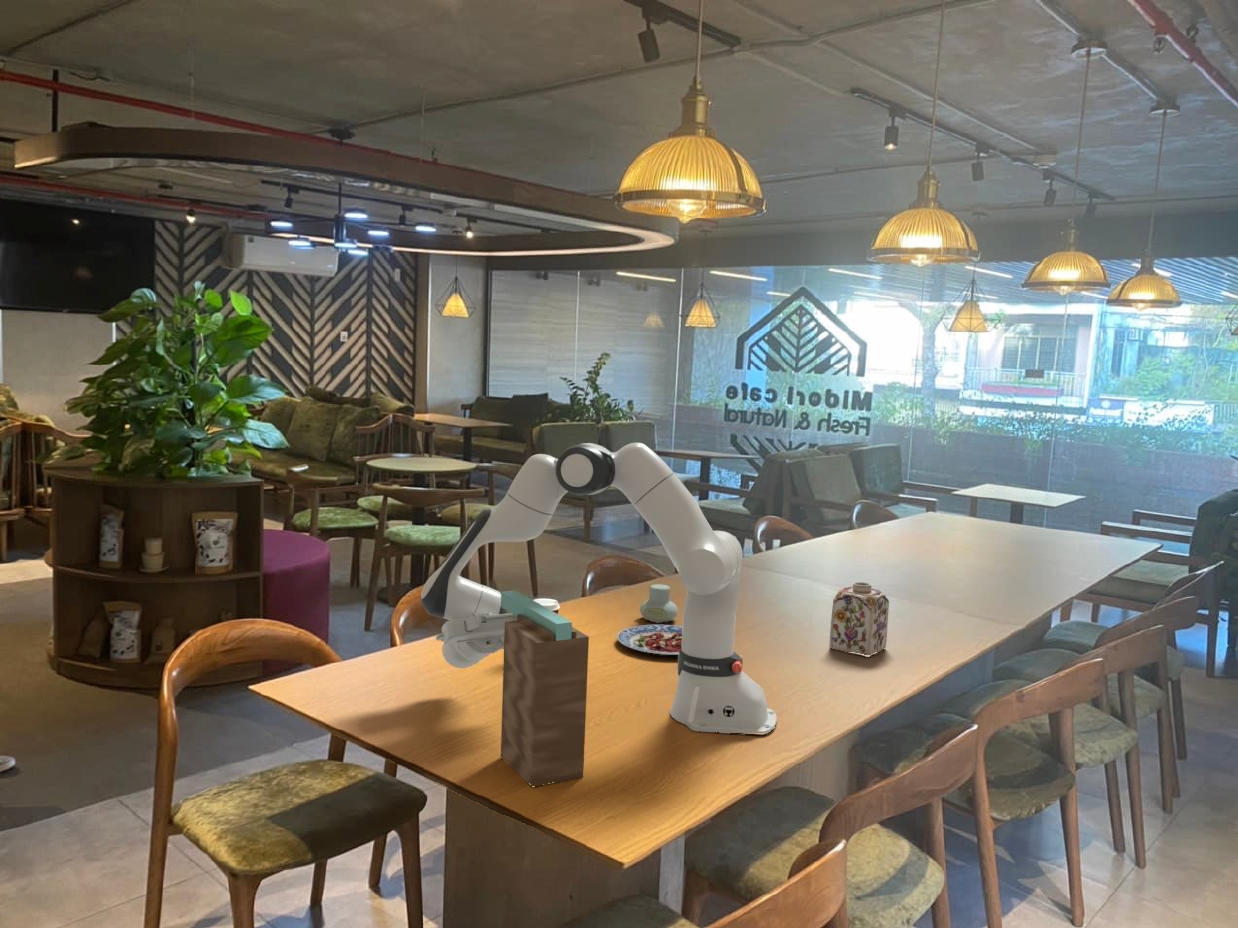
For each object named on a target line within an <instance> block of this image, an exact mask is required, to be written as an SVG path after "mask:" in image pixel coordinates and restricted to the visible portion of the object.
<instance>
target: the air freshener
mask: <svg viewBox="0 0 1238 928" xmlns="http://www.w3.org/2000/svg"><path fill="white" fill-rule="evenodd" d="M639 612H640V615H641V616H642V617H643V618H644V619H645V620H647V621H648V620H649V621H648V622H651V621H652V622H651V623H653V622H658V623H657V624H664V623H663V622H665V623H668V622H671V621H672V620H673V621H674V619H675V618H676V617H677V615H678V613H679V610H678V607H677V605H676V604H675V603H674V602H673V601H671V587H670V586H669V585H666V584H656V583H655V584H652V585H650V587H649V595H648V599H646V600H645V601H643V602H642V603H641V605H640V608H639Z"/></svg>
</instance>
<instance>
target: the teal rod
mask: <svg viewBox="0 0 1238 928" xmlns="http://www.w3.org/2000/svg"><path fill="white" fill-rule="evenodd" d="M500 592H501V607H502V608H504V609H505V610H507V612H508V613H512V614H513V615H515V616H517V614H521V615H523V616H525V617H526V618H528V619H530V620H531V621H533V622H535V623H536V624H538V625H540V626H541V627H543V628H545V629H546V630H548V631H549V632H551V633H553V634H554V640H555V641H559V640H567V639H571V637H572V627H573V621H570V620H569V619H567V618H566V617H563V616H562V615H561V614H559V613H558V614H557V613H555V612H553V611H551V610H549V609H548V608H546V607H544V606H542V605H541V604H539V603H537V602H535V601H533V600H534V599H532V598H530V597H528V596H526V595H525V594H523V593H521V592H519V591H518V590H506V591H500Z"/></svg>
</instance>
